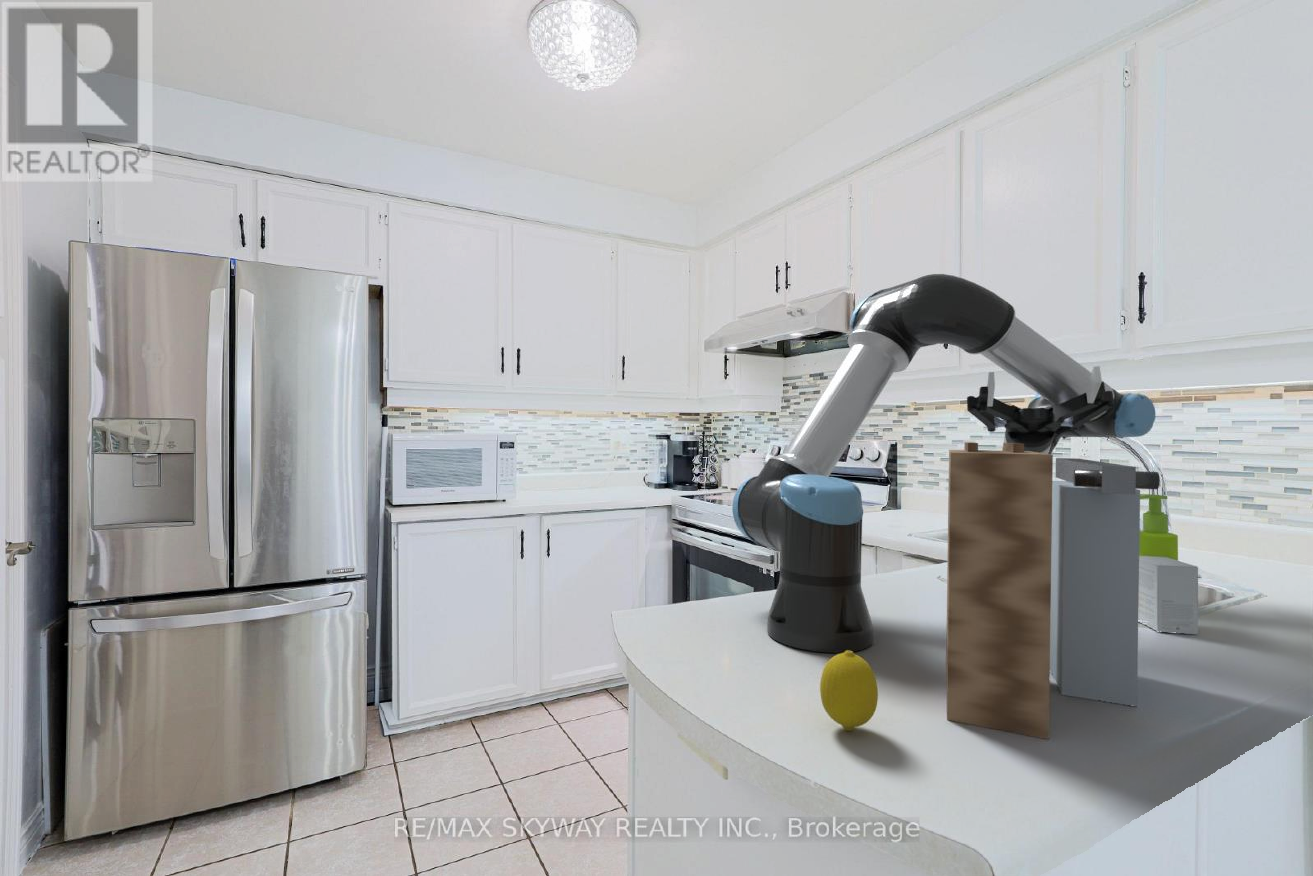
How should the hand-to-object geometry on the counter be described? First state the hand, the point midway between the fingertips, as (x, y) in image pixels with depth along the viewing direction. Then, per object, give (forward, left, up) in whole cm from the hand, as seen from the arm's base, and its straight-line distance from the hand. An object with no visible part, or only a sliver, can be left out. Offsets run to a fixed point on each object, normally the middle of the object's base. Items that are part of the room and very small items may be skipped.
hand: (1043, 376), depth 93 cm
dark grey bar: (+2, -20, -15) cm, 25 cm away
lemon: (-22, -47, -39) cm, 65 cm away
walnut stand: (-9, -31, -39) cm, 51 cm away
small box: (+18, +11, -40) cm, 45 cm away
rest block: (+2, -21, -39) cm, 44 cm away
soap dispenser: (+20, +23, -39) cm, 50 cm away
